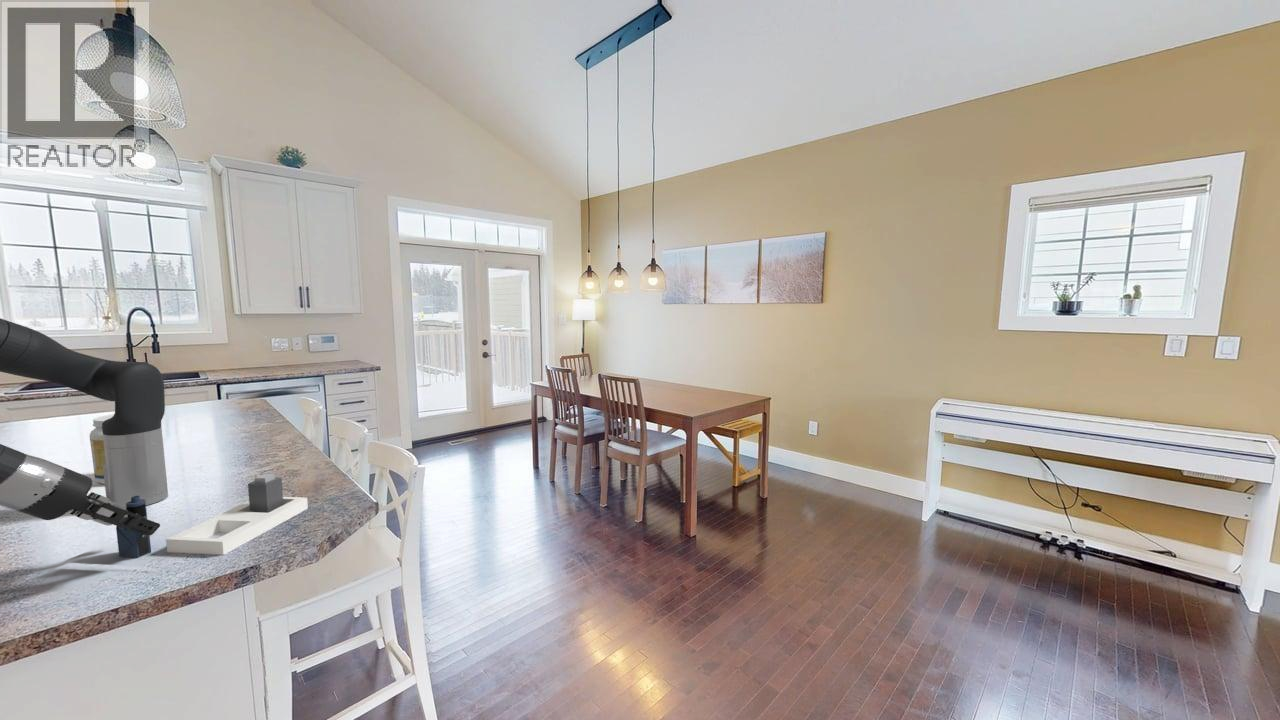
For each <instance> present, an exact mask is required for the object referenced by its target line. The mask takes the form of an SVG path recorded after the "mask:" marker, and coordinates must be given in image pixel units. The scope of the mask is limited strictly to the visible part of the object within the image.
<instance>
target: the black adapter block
mask: <svg viewBox="0 0 1280 720" xmlns="http://www.w3.org/2000/svg"><path fill="white" fill-rule="evenodd" d="M282 478H283V477H277V476H276V475H275V474H272V473H263V474H260V475H258V476H256V477H254V480H253V481H251V482H249V483H247V488H248V490H247V491H248V502H249V505H250V512H262V513H269V512H271V511H273V510H275V509H277V508H279V507H281V506H283V497H284V494H283V481H282Z"/></svg>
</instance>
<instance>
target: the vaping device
mask: <svg viewBox="0 0 1280 720" xmlns="http://www.w3.org/2000/svg"><path fill="white" fill-rule="evenodd" d="M145 503H146V502H145V499H140V496H133V497H131V501H130V502H128V503H126V507H127V511H129V512H131V513H134V514H136V513H137V514H139V515H140V516H142V517H143V518H145V519H148V513H147V505H146V504H145ZM129 517H130V515H125V516H124V517H123V518H122V519H121V520H120V521H119V523H122V524H123V523H124V522H125V521H126V520H127V519H128V518H129ZM115 530H116V531H115V532H116V538H117V547H118V548H117V550H118V556H119V557H124V558H130V559H139V558H141V557H143V556H147V555H148V554H151V553H152V547H151V535H150V536H148V535H145V534H143V533H140V532H137V531H134V530H131V529H130V530H128V529H127V530H124V529H123V528H122V527H119V526H116V525H115Z"/></svg>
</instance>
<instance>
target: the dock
mask: <svg viewBox="0 0 1280 720" xmlns="http://www.w3.org/2000/svg"><path fill="white" fill-rule="evenodd" d="M308 503H309V502H308V497H301V496H298V497H295V496H283V506H281V507H279V508H277V509H275V510H273V511H271V512H269V513H262V512H250V505H249V501H247V502H244V503H241V504H240V505H238V506H236V507H233V508H232V509H229V510H226V511H224V512H222V513H220V514H217V515H216V516H214V517H211V518H210V519H207V520H205V521H202V522H201V523H198V524H196V525H194V526H192V527H190V528H187V529H185V530H183V531H181V532H178V533H176V534H174V535H172V536H170V537H167V538H166V539H165V545H166V553H172V554H173V553H175V554H176V553H177V554H193V555H194V554H197V555H214V556H215V555H219V556H225V555H226V554H227V553H230V552H231V551H233V550H236V549H237V548H239V547H240V546H242V545H244V544H246V543H248V542H249V541H251V540H253V539H255V538H257V537H259V536H261V535H263V534H264V533H266V532H268V531H271V529H273V528H275V527H277V526H279V525H281V524H282V523H284V522H287V521H289V519H292V518H294V517H295V516H297V515H299V514H301V513H302V512H304V511H306V510H307V509H309V508H308V507H309V506H308V505H309V504H308Z"/></svg>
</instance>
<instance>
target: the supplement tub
mask: <svg viewBox="0 0 1280 720" xmlns="http://www.w3.org/2000/svg"><path fill="white" fill-rule="evenodd" d="M114 414H115V413H113V414H108V415H101V416H98V417H95V418H93V420H92V421H93V424H92V426H93V427H94V429H92V430H91V431H90V433H89V443H90V450H91V457H92V459H91V460H92V467H93V473H94V474H93V475H94V480H95V482H97V484H101V485H105V482H104V473H103V466H104V465H106V458H105V449H104V441H103V432H102V423H103V422H104V421H105V420H107V419H110V418H112V417H113V416H114Z"/></svg>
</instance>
